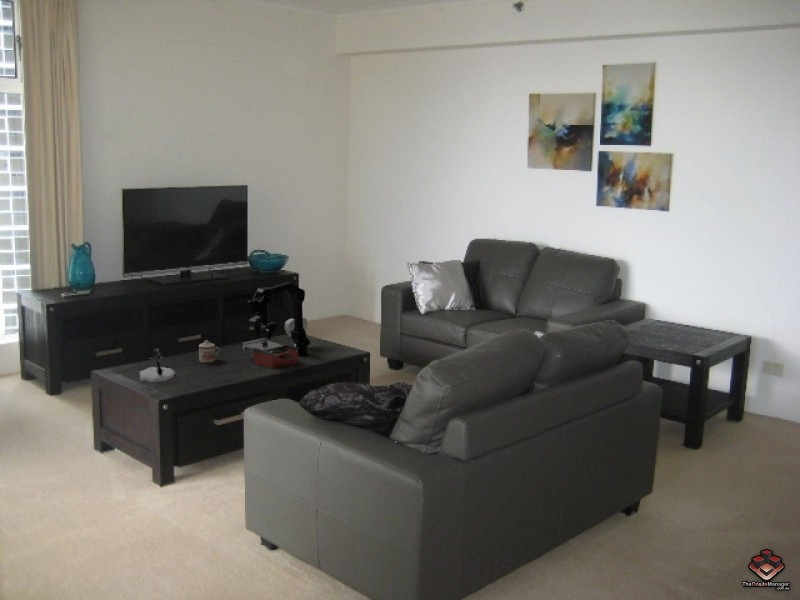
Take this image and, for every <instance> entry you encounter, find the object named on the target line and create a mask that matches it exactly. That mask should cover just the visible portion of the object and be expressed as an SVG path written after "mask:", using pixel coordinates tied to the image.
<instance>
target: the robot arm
mask: <svg viewBox="0 0 800 600" xmlns="http://www.w3.org/2000/svg"><path fill="white" fill-rule="evenodd" d="M283 292H288V293H289V296H290V299H291V301H292V304H293V319H294V329H293V331H291V337H290V338H291V340H292V341H293V345H294V344H296V347H297V348H298V357H304V356H308V355H310V353H308V346H310V344H311V340H310V339H308V337H307V331H306V330H304V328H303V318H304V317H303V316H304V315H303V314H304V313H303V303H304V301H305V300H306V299H305V298H306V291H305V290H304V289H303V288H300V287H299V286H296V285H295V284H294V283H293V282H290V281H285V282H282V283H279V284H276V285H274V286H270V287H267V286H265V287H259V288H257V290H256V291H255V293H254V295H253V298H252V299H251V300H247V303H246V304H245V306H244V309H245V312H246V313H247V314H249V315H251V314H254V313H255V316H253V317H251V318H249V320H248V324H249V325H250V327H252V328H254V332H255V334H256V337H257V338H259V337H260V335H261V329H262V326H265V330H266V333H267V336H266V337H267V341H270V340H271V338H272V336H273V334H274V332H275V330H276V329H278V328H279V324H278V323H277V322H275V321H271V319H269V315H271V312H270V311H269V303H272V302H273V301H272V300H271V299H270V298H272V297H273V296H274V295H277V294H279V293H283Z"/></svg>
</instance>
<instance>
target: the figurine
mask: <svg viewBox="0 0 800 600" xmlns="http://www.w3.org/2000/svg"><path fill="white" fill-rule="evenodd" d="M153 352H154V354H153V357H149V358H148V359H149V360H152V361H155V366H151V367H147V368H145V369H144V370H140V371H139V374H138V375H139V376H140V377H139V381H142V382H144V381H147V382H150V383H151V382H152V383H154V382H155V383H157V382H166V381H169V380H170V379H173V378H174V377H175V375H176V371H174V369H172V368H168V367H163V366H162V367H161V365H160V363H159V361H161V362H162V361H164V357H163V356H160V355H161V354H162V352H161V351H160V349H159V348H156V349H154V350H153Z"/></svg>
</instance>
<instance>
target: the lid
mask: <svg viewBox="0 0 800 600" xmlns="http://www.w3.org/2000/svg"><path fill="white" fill-rule="evenodd" d="M278 343H279V342H274V341H272V340H271V341H270V340H268V339H266V338H265V337H263V338H259V339H258V338H257V339H253V340H249V341H245V342H242V350H243V351H245V350H249V349H252V350H254V348H258V349H261V350H265V351H270V350H274V349H278V348H283V347H285V345H281V344H278Z"/></svg>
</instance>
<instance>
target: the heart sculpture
mask: <svg viewBox="0 0 800 600" xmlns="http://www.w3.org/2000/svg"><path fill="white" fill-rule="evenodd" d="M307 327H308V319H307V318H306V317H303V328H304V330H305V331H306V330H307ZM293 329H294V318H289V319H287V320H286V321H285V322H284V331H285V333H286V334H287V335H288V336H289V337H290V338H292V337H291V331H293ZM293 346H294V347H296V344H294V343H293Z"/></svg>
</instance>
